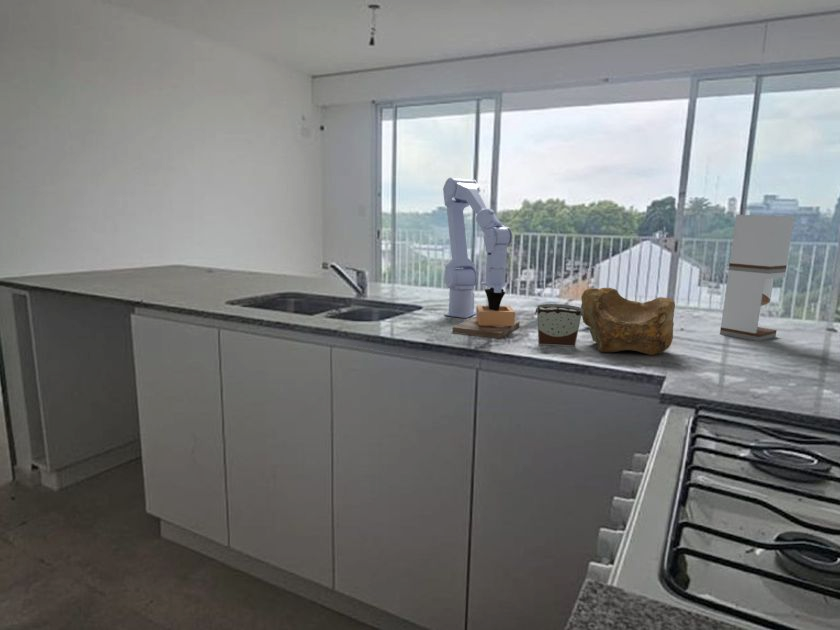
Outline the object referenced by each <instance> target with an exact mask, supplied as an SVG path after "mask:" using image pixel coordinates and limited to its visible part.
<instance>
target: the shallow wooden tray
mask: <svg viewBox="0 0 840 630" xmlns="http://www.w3.org/2000/svg"><path fill="white" fill-rule="evenodd" d="M475 309H476V311H475V312H476V314H475V317H476V319H477V322H478V324H479V325H490V326H514V324H515V321H516V312H515V310H514V309H513V308H512V307H511V305H500V307H499V311H484V310H486V309H489V306H488V305H478V304H477V305H476V308H475Z"/></svg>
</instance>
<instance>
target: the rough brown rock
mask: <svg viewBox="0 0 840 630" xmlns="http://www.w3.org/2000/svg"><path fill="white" fill-rule="evenodd" d="M580 299H581V306H580V308H582V311H583V315H584V317H583V316H581V318H582V322H583V323H584V324H585V325H586V326H587V327H589V328H588V329H589V333H590V335H591V338H592V341H594V343H596V345H597V349H598V351H599V352H600V353H615V352H620V351H635V352H639V353H642V354H645V355H650V356H657V355H658V354H661V353H663V352H665V351H666V350H668V349H670V347H671V345H672V343H673V339H674V324H675V322H674V316H675V315H674V313H675V307H676V304H675V301H674V300H673V299H671V298H669V297H662V296H661V297H656V298H654V299H652V300H648V301H646V302H644V303H643V302H642V303H641V302H639V301H635V300H629V299H627V298H625V297H623V296H622V295H621V294H620V293H619V291H618V290H617V289H616V288H613V287H601V288H596V287H594V288H592V287H591V288H587V289H585V290H584V291H583V292H582V295H581V298H580Z"/></svg>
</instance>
